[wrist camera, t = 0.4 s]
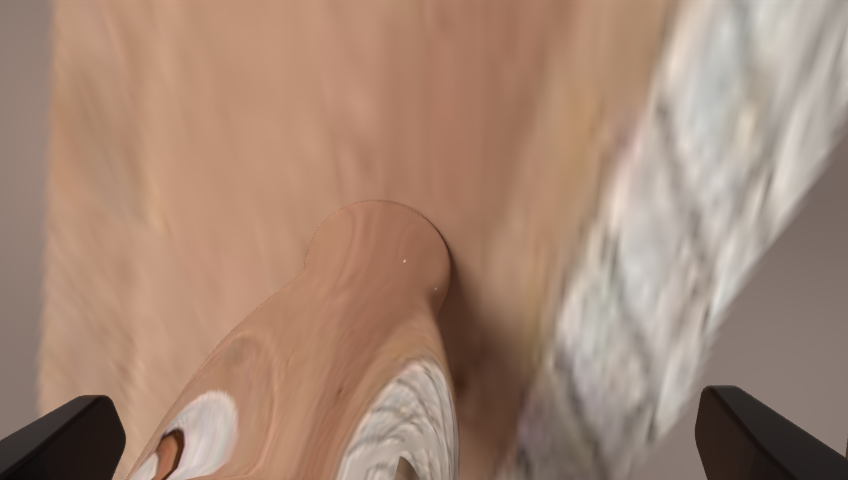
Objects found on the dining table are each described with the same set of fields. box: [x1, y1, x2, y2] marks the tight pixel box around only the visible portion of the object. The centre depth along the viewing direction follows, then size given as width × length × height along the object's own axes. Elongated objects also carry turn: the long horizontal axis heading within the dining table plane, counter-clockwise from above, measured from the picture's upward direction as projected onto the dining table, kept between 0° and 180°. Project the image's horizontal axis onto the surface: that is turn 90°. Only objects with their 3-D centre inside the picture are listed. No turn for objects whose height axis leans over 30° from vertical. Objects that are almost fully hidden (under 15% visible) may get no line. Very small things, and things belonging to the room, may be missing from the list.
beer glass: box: [126, 200, 460, 480], centre depth 17 cm, size 7×7×15 cm
